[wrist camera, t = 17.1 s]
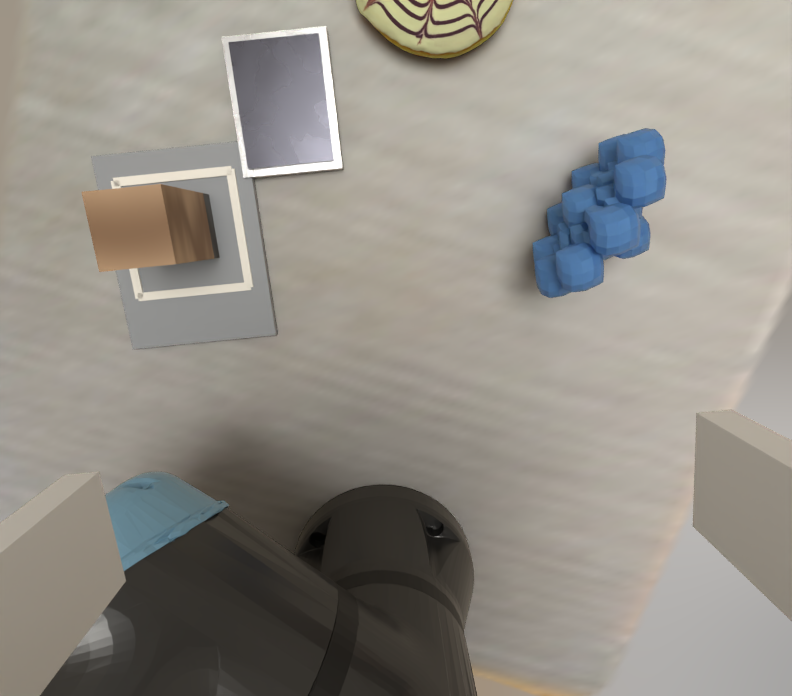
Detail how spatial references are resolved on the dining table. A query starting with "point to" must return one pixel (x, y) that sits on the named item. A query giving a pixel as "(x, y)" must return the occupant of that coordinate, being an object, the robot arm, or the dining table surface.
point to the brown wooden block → (150, 226)
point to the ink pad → (283, 102)
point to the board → (207, 279)
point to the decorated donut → (436, 23)
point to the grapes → (601, 214)
